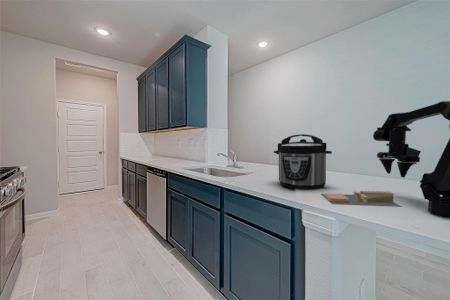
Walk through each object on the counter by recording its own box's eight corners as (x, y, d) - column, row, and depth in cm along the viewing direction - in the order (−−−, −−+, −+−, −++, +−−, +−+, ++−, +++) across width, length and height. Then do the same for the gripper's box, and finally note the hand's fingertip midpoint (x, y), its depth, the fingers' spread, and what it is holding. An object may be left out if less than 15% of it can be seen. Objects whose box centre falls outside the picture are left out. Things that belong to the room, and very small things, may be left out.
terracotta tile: (349, 199, 87) (330, 198, 88) (349, 202, 87) (329, 201, 88) (341, 193, 95) (323, 193, 96) (341, 197, 95) (323, 196, 96)
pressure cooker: (266, 183, 129) (266, 134, 127) (298, 178, 142) (298, 134, 140) (303, 195, 102) (304, 133, 100) (338, 188, 115) (339, 133, 113)
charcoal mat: (402, 209, 81) (402, 206, 81) (332, 206, 85) (332, 204, 85) (378, 197, 97) (378, 195, 97) (320, 195, 101) (320, 193, 101)
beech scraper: (398, 204, 84) (398, 195, 83) (364, 203, 85) (364, 194, 85) (384, 198, 92) (384, 189, 92) (353, 197, 94) (354, 189, 94)
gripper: (435, 141, 79) (433, 180, 80) (401, 140, 98) (400, 172, 99) (404, 142, 81) (403, 179, 82) (376, 141, 99) (375, 171, 100)
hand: (395, 175), depth 91 cm, fingers open, 9 cm apart
